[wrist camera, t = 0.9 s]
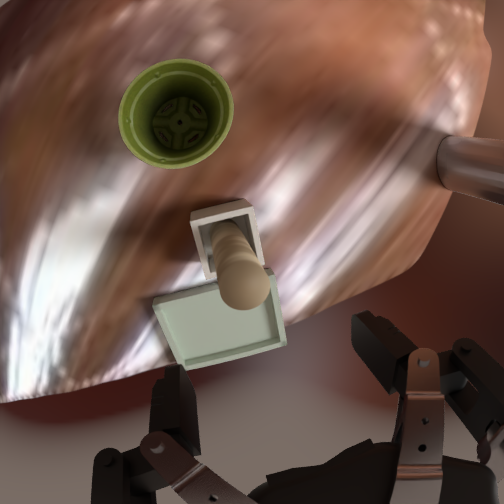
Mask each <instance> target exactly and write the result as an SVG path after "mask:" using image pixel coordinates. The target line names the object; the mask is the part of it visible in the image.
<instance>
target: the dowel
mask: <svg viewBox="0 0 504 504" xmlns="http://www.w3.org/2000/svg"><path fill="white" fill-rule="evenodd" d="M209 234H210V240H211V246H212V252H213V258H214V264H215V269H216V275H217V280H218V286H219V291H220V296H221V298H222V300H223V301H224V303H225V304H226V305H228V306H229V307H231V308H233V309H236V310H250V309H253V308H255V307H257V306H259V305H260V304H262V303H263V302H264V301H265V299H266V298H267V296H268V294H269V291H270V280H269V277H268V275H267V273H266V272H265V270H264V268H263V267H262V265H261V263H260V262H259V260H258V258H257V257H256V255H255V253H254V252H253V250H252V248H251V247H250V245H249V243H248V241H247V240H246V238H245V236H244V235H243V233H242V231H241V230H240V228H239V226H238V225H237V223H236V222H235V221H233V220H232V219H229V218H228V219H224V220H220V221H216V222H214V223H213V224H212V226H211V228H210V232H209Z"/></svg>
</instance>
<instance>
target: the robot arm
mask: <svg viewBox="0 0 504 504" xmlns="http://www.w3.org/2000/svg"><path fill="white" fill-rule="evenodd" d="M437 169H438V174H439V177H440V180H441V182H442V183H443V185H444V186H445V187H446V188H447V189H449V190H451V191H455V192H459V193H463V194H467V195H470V196H474V197H477V198H481V199H484V200H488V201H491V202H495V203H498V204H501V205H504V140H496V139H486V138H474V137H462V136H448V137H446V138H445V139H443V141H442V142H441V144H440V146H439V149H438V154H437ZM351 321H352V322H351V324H352V326H351V334H352V335H351V341H352V345H353V348H354V350H355V351H356V353H357V354H358V355H359V357H360V358H361V359H362V360H363V361H364V363H365V364H366V365H367V367H368V368H369V369H370V371H371V372H372V373H373V375H374V376H375V377H376V378H377V380H378V381H379V382H380V384H381V385H382V386H383V388H384V389H385V390H386V391H387V393H388V394H389V395H391V394H393V393H394V392H396V391H397V392H398V393H399V394H400V396H399V401H398V409H397V416H396V422H395V428H394V433H393V437H392V440H391V442H380V443H374V444H373V443H372V441H371V439H367V440H365V441H363V442H361V443H359V444H356V445H354V446H352V447H349V448H347V449H345V450H344V451H342V452H341V453H339V454H338V455H337V456H335V457H334V458H332V459H331V460H329V461H327V462H326V463H324V464H322V465H317V466H308V467H299V468H291V469H288V470H285V471H281V472H277V473H274V474H270V475H266V478H267V482H265V483H263V484H261V485H260V486H258V487H257V488H255V489H254V490H253V491H251V493H250V494H248V495H247V496H246V495H245V494H243V493H242V492H240V491H239V490H237V489H236V488H234V487H233V486H232V485H230V484H229V483H228V482H226V481H225V480H224V479H222V478H221V477H220V476H218V475H217V474H216V473H214V472H213V471H212V470H211V469H209V468H208V467H207V466H205V465H204V464H201V463H200V462H198V461H197V460H196V459H195V458H194V456H198V455H201V448H200V439H199V427H198V415H197V402H196V394H195V390H194V388H193V385H192V383H191V381H190V379H189V377H188V375H187V373H186V371H185V369H184V367H183V365H182V364H177V365H172V366H167V367H165V375H164V378H163V379H158V380H157V381H156V383H155V385H154V387H153V388H152V399H151V409H150V422H149V434H147V435H146V436H145V437H144V438H143V439H142V441H141V443H140V446H138V447H137V448H134V449H131V450H129V451H126V452H123V453H120V452H119V451H118V450H117V449H114V448H106V449H103V450H101V451H100V452H99V453H98V454H97V455H96V456H95V459H94V465H93V476H92V491H91V504H157V503H156V490H158V489H161V488H164V487H167V486H169V485H170V486H171V487H172V489H173V490H174V491H175V492H176V493H177V494H178V495H179V496H180V497H181V498H182V499H183V500H184V501H186V502H187V503H188V504H499V499H498V487H497V483H499V482H500V480H502V479H503V478H504V368H503V367H502V366H500V364H499V363H498V362H497V361H496V360H494V359H493V358H492V357H491V356H490V355H489V354H488V353H487V352H486V351H485V350H484V349H483V348H482V347H481V346H479V345H478V344H477V343H476V342H475V341H474V340H472V339H469V338H461V339H458V340H456V341H455V342H454V344H453V346H452V350H448V351H445V352H441V353H435V352H434V351H432V350H430V349H426V348H420V349H419V348H418V347H417V346H416V345H415V344H413V342H412V341H411V340H410V339H408V338H407V337H406V336H405V335H404V334H403V333H402V332H400V330H399V329H398V328H397V327H395V325H394V324H392V323H391V322H390V321H389V320H388V319H385V318H383V317H381V316H377V317H375V316H374V315H373V314H372V313H371V312H370V311H368V310H364V311H362V312H359V313H356V314H354V315H352V319H351ZM467 380H469V381H470V382H471V383H472V384H473V385H474V387H475V388H476V389H477V390H478V392H477V391H476V390H475V388H474V387H473V386H472V385H471V384H470V383H469V382H468V381H467ZM445 401H446V402H447V403H448V404H449V406H450V407H451V408H452V409H453V411H454V412H455V413H456V415H457V416H458V417H459V418H460V420H461V421H462V422H463V424H464V425H465V426H466V428H467V429H468V430H469V432H470V433H471V434H472V436H473V437H474V438H475V440H476V441H477V443H478V444H477V454H478V455H477V459H478V460H479V461H480V463H479V462H474V461H468V460H463V459H458V458H453V457H449V456H444V455H442V454H443V441H444V420H445V419H444V418H445Z"/></svg>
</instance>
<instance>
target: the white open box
mask: <svg viewBox="0 0 504 504" xmlns="http://www.w3.org/2000/svg"><path fill="white" fill-rule="evenodd" d="M228 218H229V219H232V220H233V221H235V222H236V223H237V225H238V226H239V228H240V230H241V231H242V233H243V235H244V236H245V238H246V240H247V241H248V243H249V245H250V247H251V248H252V250H253V252H254V253H255V255H256V257H257V258H258V260H259V262H260V263H261V265H265V263H264V258H263V253H262V248H261V243H260V238H259V233H258V228H257V223H256V218H255V213H254V208H253V205H251V204H250V203H249V202H248V201H247V200H246V199H241V200H237V201H232V202H228V203H224V204H220V205H216V206H212V207H208V208H204V209H200V210H196V211H192V212H191V216H190V224H191V228H192V231H193V235H194V239H195V242H196V246H197V250H198V253H199V257H200V260H201V264H202V267H203V271H204V274H205V278H206V280H207V279H211V278H215V277H217V275H216V269H215V264H214V258H213V252H212V246H211V240H210V234H209V232H210V228H211V226H212V224H213V223H214V222H216V221H220V220H224V219H228Z"/></svg>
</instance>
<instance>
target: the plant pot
mask: <svg viewBox="0 0 504 504" xmlns="http://www.w3.org/2000/svg"><path fill="white" fill-rule="evenodd" d="M169 104H172V105H173V106H172V107H170V108H168V109H167V110H166V111H164V113H163V110H164V108H165V107H166V106H168V105H169ZM192 105H196V106H197V107H198V108H199V109H200V111H201V114H199V113H198V112H197V110H196V109H195V108H194V107H193V106H192ZM233 114H234V103H233V98H232V94H231V91H230V89H229V86H228V85H227V83H226V81H225V80H224V79H223V78H222V76H221V75H220V74H219V73H218V72H217V71H215V70H214V69H213V68H211V67H210V66H208V65H206V64H204V63H201V62H198V61H195V60H190V59H171V60H166V61H162V62H159V63H157V64H154V65H152V66H151V67H149V68H147V69H146V70H144V71H143V72H141V73H140V74H139V75H138V76H137V77H136V78H135V79H134V80H133V81H132V82H131V83H130V85H129V86H128V88H127V90H126V91H125V93H124V95H123V97H122V100H121V103H120V106H119V113H118V124H119V130H120V134H121V137H122V139H123V141H124V143H125V145H126V146H127V148H128V149H129V150H130V151H131V152H132V153H133V154H134V155H135V156H136V157H137V158H138V159H140V160H141V161H143V162H145V163H147V164H149V165H151V166H155V167H159V168H165V169H178V168H184V167H188V166H191V165H194V164H196V163H198V162H200V161H202V160H204V159H205V158H207V157H208V156H209V155H211V154H212V153H213V152H214V151H215V150H216V149H217V148H218V147H219V146H220V144H221V143H222V142H223V140H224V139H225V137H226V135H227V134H228V131H229V129H230V127H231V123H232V119H233ZM179 120H181V121H182V124H181V125H179V124H178V121H179ZM160 132H162V134H163V135H164V136H165V137H166V138H167V139H168V141H165V140H164V139H163V138H161V136H160V134H159V133H160ZM196 134H198V138H197V139H195V140H194V141H193V142H190V143H188V140H190V139H192V138H193V137H194V136H195V135H196Z"/></svg>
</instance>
